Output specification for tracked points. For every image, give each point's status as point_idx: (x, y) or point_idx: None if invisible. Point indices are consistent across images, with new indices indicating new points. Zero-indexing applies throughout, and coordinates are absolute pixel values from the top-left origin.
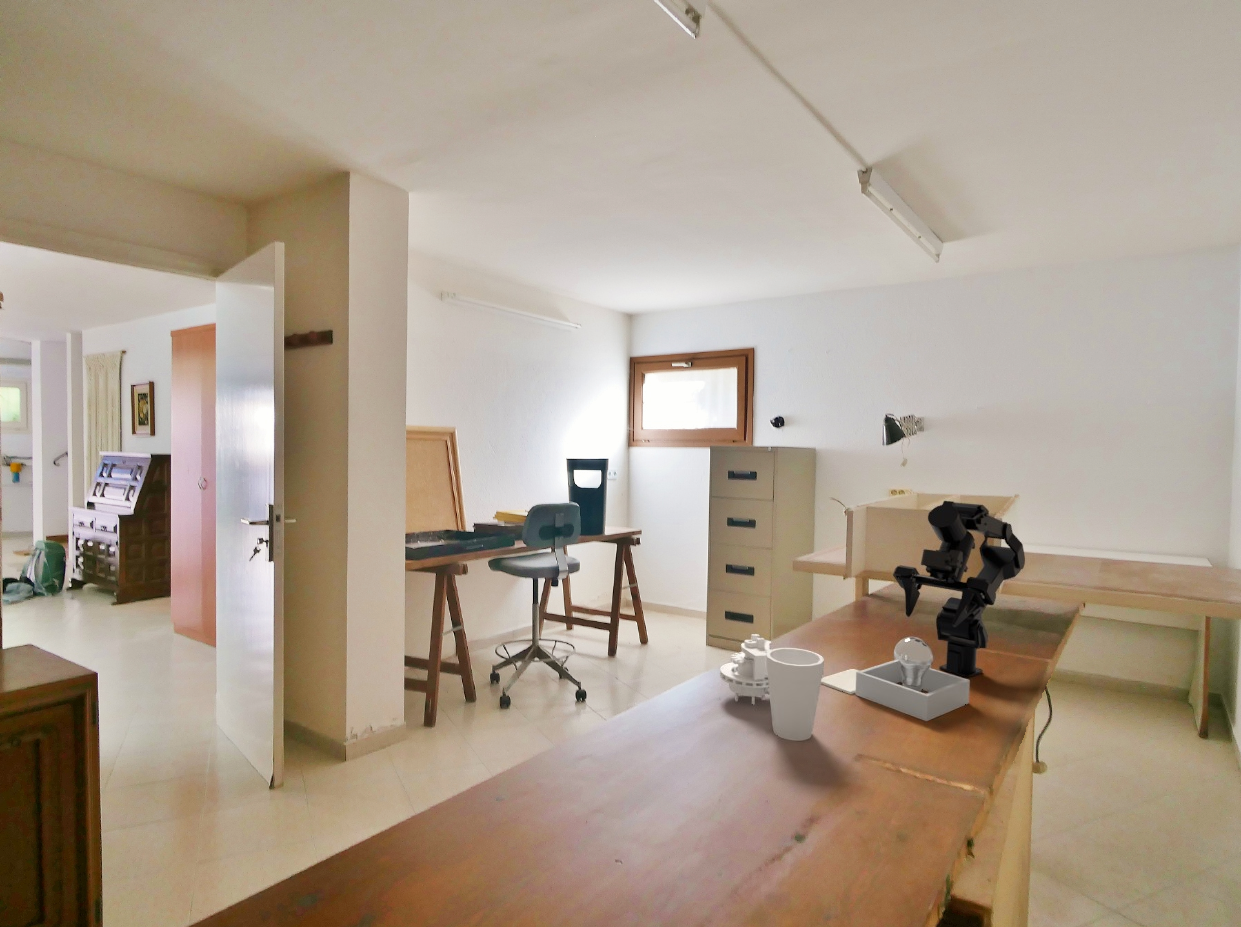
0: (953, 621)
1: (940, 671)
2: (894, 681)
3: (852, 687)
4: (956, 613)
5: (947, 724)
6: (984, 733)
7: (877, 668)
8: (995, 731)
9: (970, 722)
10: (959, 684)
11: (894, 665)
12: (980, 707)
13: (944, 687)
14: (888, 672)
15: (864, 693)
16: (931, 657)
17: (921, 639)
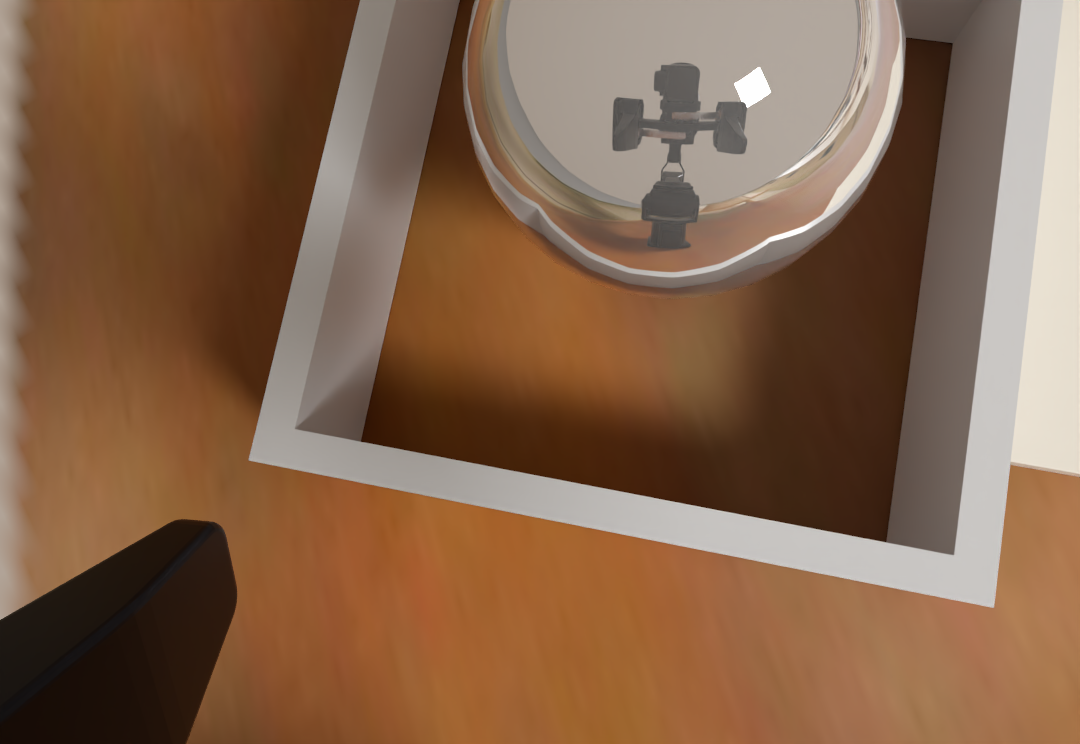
0: (176, 553)
1: (520, 502)
2: (902, 467)
3: (1069, 81)
4: (25, 671)
5: (331, 6)
6: (131, 41)
7: (1000, 155)
8: (87, 117)
9: (232, 142)
10: (292, 286)
11: (955, 445)
12: (241, 461)
13: (361, 104)
14: (950, 357)
15: None
16: (463, 67)
17: (601, 20)
